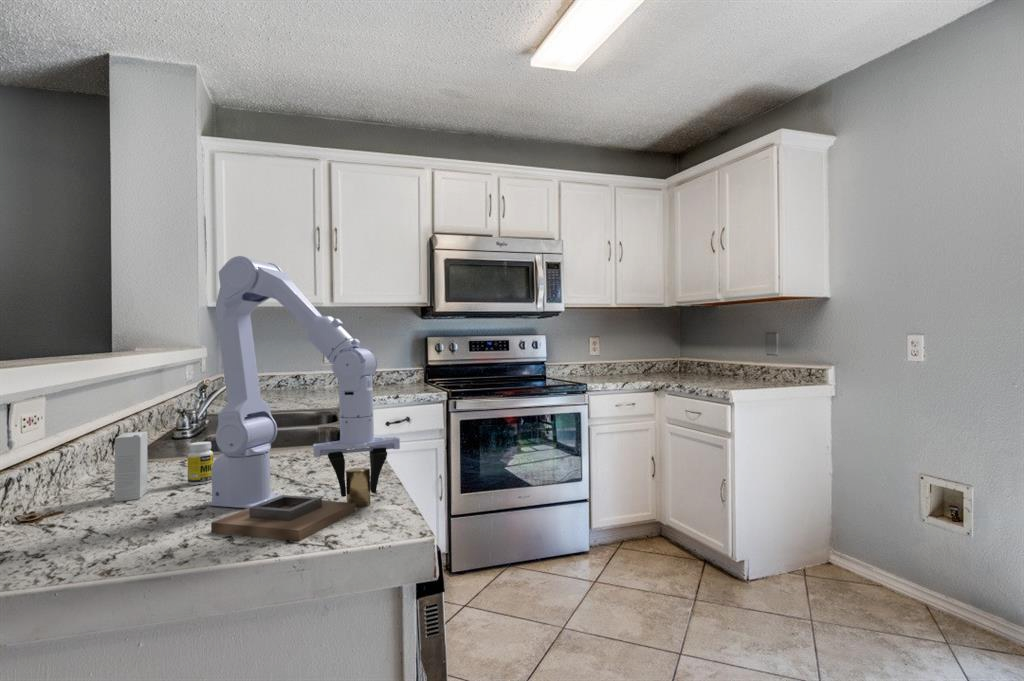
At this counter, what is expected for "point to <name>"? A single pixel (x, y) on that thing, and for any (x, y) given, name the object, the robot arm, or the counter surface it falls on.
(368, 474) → the brass cylinder
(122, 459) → the skincare box
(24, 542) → the counter surface
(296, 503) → the frame
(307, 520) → the jig plate
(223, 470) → the robot arm
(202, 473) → the supplement bottle
